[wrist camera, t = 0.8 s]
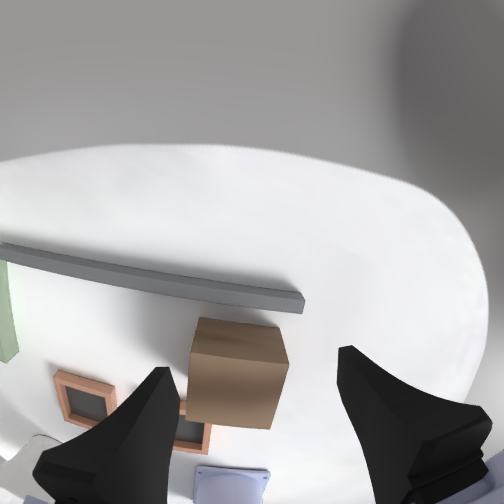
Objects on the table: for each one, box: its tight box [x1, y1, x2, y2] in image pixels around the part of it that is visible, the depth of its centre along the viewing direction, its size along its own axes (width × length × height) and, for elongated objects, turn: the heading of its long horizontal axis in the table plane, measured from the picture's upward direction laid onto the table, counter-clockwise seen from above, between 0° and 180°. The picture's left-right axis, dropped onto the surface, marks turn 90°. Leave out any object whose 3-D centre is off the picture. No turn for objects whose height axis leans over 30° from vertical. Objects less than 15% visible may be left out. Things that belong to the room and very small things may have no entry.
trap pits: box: [53, 370, 212, 455], centre depth 24 cm, size 6×15×1 cm, turn 81°
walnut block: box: [185, 317, 289, 429], centre depth 21 cm, size 6×6×5 cm
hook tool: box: [0, 242, 305, 364], centre depth 21 cm, size 11×27×2 cm, turn 81°
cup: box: [0, 435, 62, 504], centre depth 21 cm, size 12×12×11 cm
